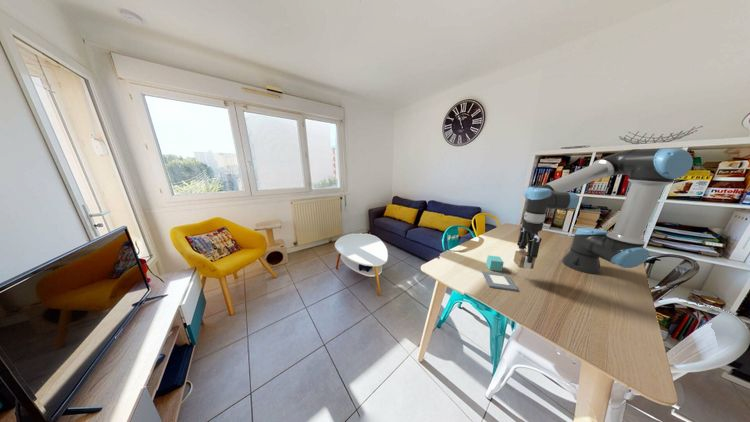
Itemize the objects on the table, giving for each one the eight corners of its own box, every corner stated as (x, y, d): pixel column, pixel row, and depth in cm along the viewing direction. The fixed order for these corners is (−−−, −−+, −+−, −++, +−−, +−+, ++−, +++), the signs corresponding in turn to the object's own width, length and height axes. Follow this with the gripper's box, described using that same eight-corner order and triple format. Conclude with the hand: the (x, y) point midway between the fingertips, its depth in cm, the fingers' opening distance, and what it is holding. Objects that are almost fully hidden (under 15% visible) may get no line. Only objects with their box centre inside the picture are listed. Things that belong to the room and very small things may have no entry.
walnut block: (526, 262, 99) (529, 251, 97) (533, 268, 93) (535, 257, 91) (513, 261, 100) (515, 250, 98) (519, 267, 94) (521, 256, 93)
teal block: (497, 265, 110) (499, 256, 109) (501, 271, 105) (503, 262, 103) (486, 264, 112) (487, 255, 110) (489, 270, 106) (491, 260, 104)
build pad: (506, 276, 101) (507, 274, 100) (517, 291, 90) (518, 289, 89) (482, 272, 103) (482, 271, 103) (489, 287, 92) (490, 285, 92)
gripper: (514, 214, 99) (506, 254, 106) (535, 227, 82) (524, 274, 88) (531, 215, 98) (522, 255, 104) (556, 228, 80) (543, 276, 87)
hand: (523, 263), depth 96 cm, fingers closed on walnut block, 6 cm apart
